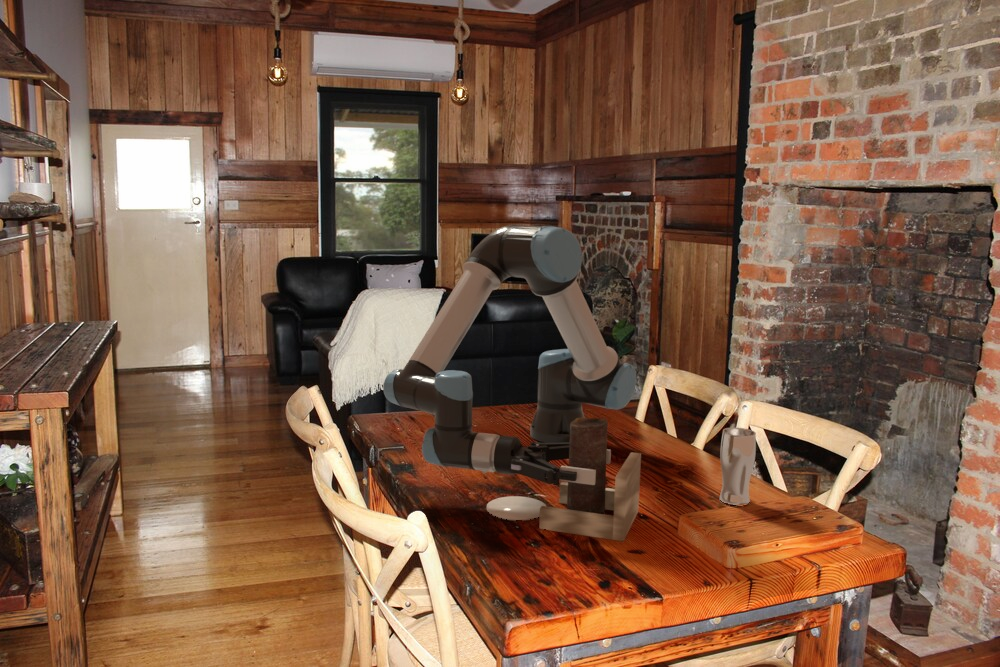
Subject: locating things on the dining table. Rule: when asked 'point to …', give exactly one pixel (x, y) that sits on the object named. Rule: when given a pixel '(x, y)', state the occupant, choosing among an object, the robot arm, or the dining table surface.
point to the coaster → (515, 508)
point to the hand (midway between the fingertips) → (603, 466)
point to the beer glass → (737, 464)
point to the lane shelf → (617, 499)
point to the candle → (588, 464)
